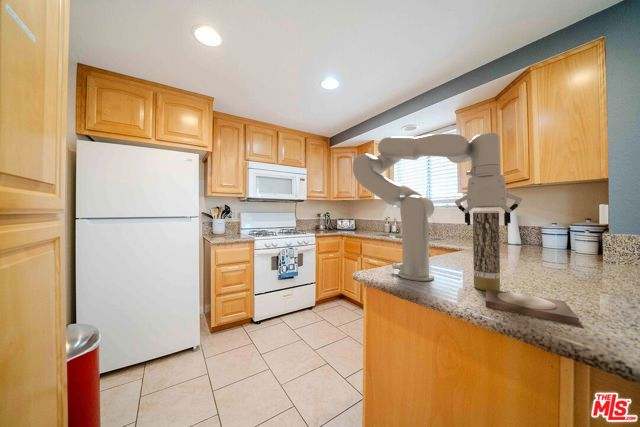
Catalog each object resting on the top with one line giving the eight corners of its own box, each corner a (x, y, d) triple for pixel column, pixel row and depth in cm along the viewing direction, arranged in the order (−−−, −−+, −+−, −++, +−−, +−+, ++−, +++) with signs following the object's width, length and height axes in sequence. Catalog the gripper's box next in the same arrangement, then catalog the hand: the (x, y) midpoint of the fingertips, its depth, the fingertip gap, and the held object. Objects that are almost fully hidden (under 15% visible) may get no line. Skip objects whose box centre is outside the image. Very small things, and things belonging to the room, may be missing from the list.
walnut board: (485, 306, 57) (485, 299, 57) (486, 293, 66) (486, 287, 67) (579, 325, 47) (578, 316, 47) (564, 307, 57) (564, 300, 57)
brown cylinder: (490, 285, 74) (489, 211, 75) (505, 292, 68) (504, 211, 68) (469, 285, 75) (468, 211, 75) (482, 292, 68) (481, 211, 69)
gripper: (453, 174, 74) (454, 225, 74) (522, 166, 64) (524, 226, 63) (455, 177, 80) (456, 224, 80) (519, 171, 70) (521, 225, 69)
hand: (486, 225), depth 71 cm, fingers open, 9 cm apart
